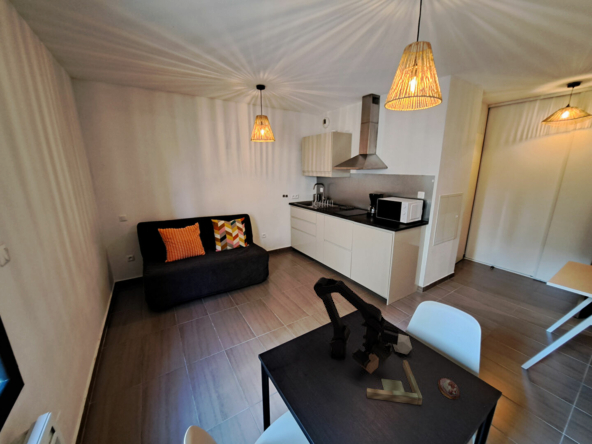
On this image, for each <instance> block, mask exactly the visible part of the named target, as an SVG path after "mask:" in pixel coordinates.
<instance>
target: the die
mask: <svg viewBox="0 0 592 444" xmlns="http://www.w3.org/2000/svg"><path fill="white" fill-rule="evenodd" d="M392 347H393V349H394V351H395V352H397V353H399V354H400V353H401V354H404V355H408V354H409V353H410V352H411V351H412V350H413V347H412V344H411V340H410V336H409V335H408V336H407V335H405V334H401V333H399V336H398V344H397V345H394V344H392Z"/></svg>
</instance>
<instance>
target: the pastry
mask: <svg viewBox="0 0 592 444" xmlns="http://www.w3.org/2000/svg"><path fill="white" fill-rule="evenodd" d="M437 387H438V390H439V392H440V394H442V395H443V396H445V397H446V398H448V399H450V400H459V398H460V396H461V391H460V388H459V386H458V385H457V384H456V383H455V382H454V381H453V380H452V379H449V378H446V377H442V378H441V377H440V378H439V380H438V382H437Z"/></svg>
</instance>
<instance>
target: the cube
mask: <svg viewBox="0 0 592 444" xmlns="http://www.w3.org/2000/svg"><path fill="white" fill-rule="evenodd" d="M369 359H370V360H371V361H370V362H369V363H368V364H367V367H366V369H365V368H364V367H363V366H361V367H362V368H363V369H365V370H366V371H367V372H368V373H369V374H372V373H374V371H376V369H377V368H379V362H380V359H379V358H378V357H377V356H376V355H375V354H374V355H373V354H370V355H369Z"/></svg>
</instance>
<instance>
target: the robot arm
mask: <svg viewBox="0 0 592 444" xmlns="http://www.w3.org/2000/svg"><path fill="white" fill-rule="evenodd" d="M313 291H314V293H315V295H316V296H317V298H318V299H320V300H321V301H322V303H323V306H324V309H325V311H326V313H327V315H328V319H329V321H330V323H331V325H332V330H333V331H332V333H333V335H332V337H331V340H330V342H329V347H330V358H331V359H334V360H335V359H336V360H345V357H346V354H347V344H348V342H349V339H350V338H351V333H352V331H351V330H350V326H349V324H345V323H344V322H343V320H342V318H341V316H340V313H339V311H338V309H337V306H336V304H335V301H334V299H333V295H332V294H333V293H334V294H339V295H340V296H341V297H342V298H343V299H345V301H347V302H348V303H349V304H350V305H351V306H353V308H354V309H356V310H357V311H358V312H359V313H360V315H361V318H363V319H362V321H361V325H360V326H361V327H364V328H365V332H364V335H362V338H363V340H364V341H363V342H362V344H361V345H362V347H363V348H364V350H362V349H360V348H357V349H355V351H353V352H352V354H351V355H352V356H351V357H352V359H353V360H354V361H355V362H356V363H358V364H359V365H360V366H361V367H362V366H363V367H364V368H365V370H366V367H367V364H368V363H369V362H370V361H371V360H370V359H369V355H370V354H373V355H374V354H375V355H376V356H377V357H378V358H379V362H381V363H385V362H386V361H387V360H388V359H390V357H391V356H392V355H393V344H394V345H397V344H398V336H399V334H400V332H399V329H400V328H398V327H393V326H391V325H386V323H387V320H386V319H385V317H384V316H383V315H382V314H383V313H382V310H381V309H380V308H379V307H377V306H375V305H374V304H372V303H369V302H366V300H364V299H363V298H362V297H360V296H359V295H358V294H357V293H356V292H354V290H352V289H351V288H350V287H349V286H348V285H347V284H346V283H345V282H344V281H343V280H341V279H340V280H339V279H334V278H331V277H330V278H329V277H324V276H320V278H318V279H317V281H316V282H315V283H314V285H313ZM391 344H392V345H391ZM363 367H362V368H363ZM364 368H363V369H364Z"/></svg>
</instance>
